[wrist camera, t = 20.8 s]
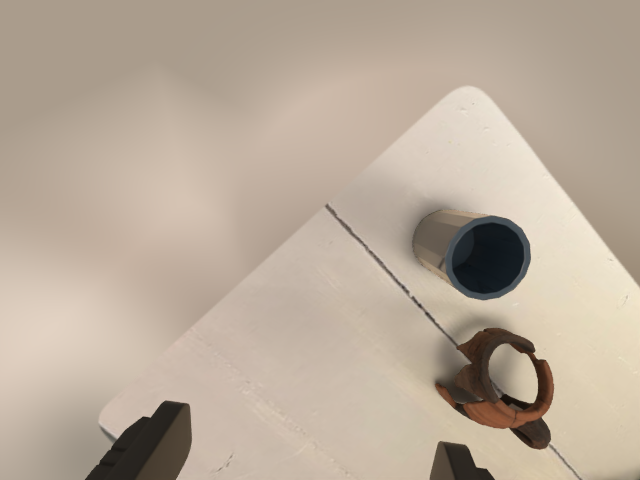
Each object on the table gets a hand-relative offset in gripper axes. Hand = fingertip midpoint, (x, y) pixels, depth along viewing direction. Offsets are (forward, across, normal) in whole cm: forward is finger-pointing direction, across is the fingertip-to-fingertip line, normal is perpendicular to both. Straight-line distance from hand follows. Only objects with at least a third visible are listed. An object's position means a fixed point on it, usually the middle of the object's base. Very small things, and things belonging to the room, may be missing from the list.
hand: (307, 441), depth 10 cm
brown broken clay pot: (+22, -17, +13) cm, 30 cm away
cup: (+23, -11, -1) cm, 25 cm away
